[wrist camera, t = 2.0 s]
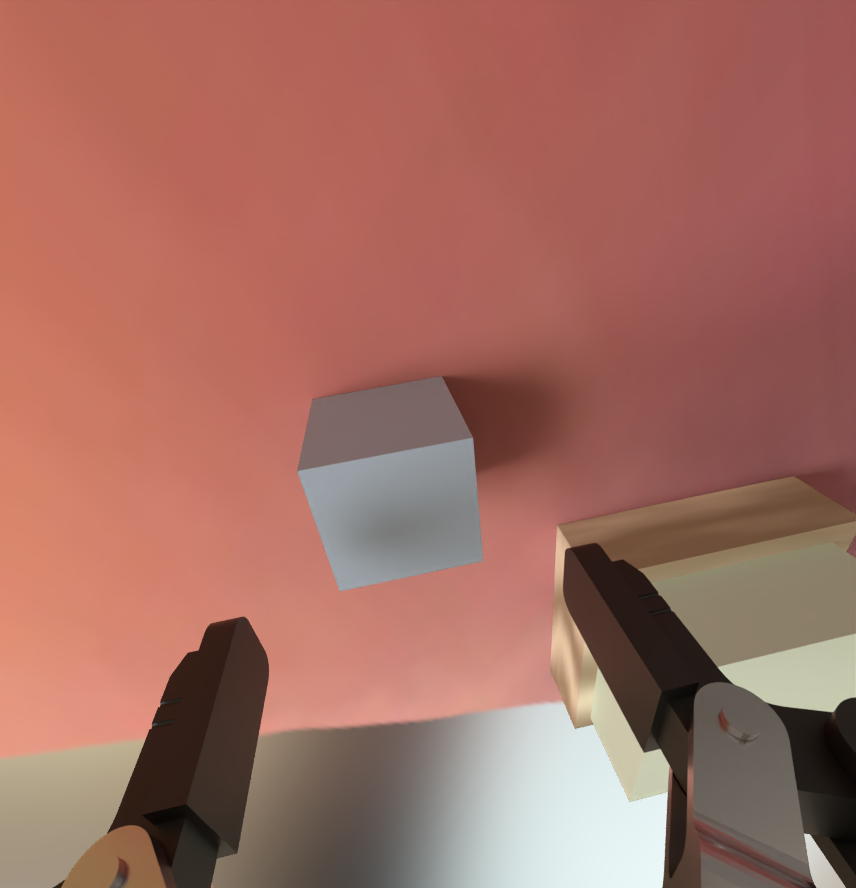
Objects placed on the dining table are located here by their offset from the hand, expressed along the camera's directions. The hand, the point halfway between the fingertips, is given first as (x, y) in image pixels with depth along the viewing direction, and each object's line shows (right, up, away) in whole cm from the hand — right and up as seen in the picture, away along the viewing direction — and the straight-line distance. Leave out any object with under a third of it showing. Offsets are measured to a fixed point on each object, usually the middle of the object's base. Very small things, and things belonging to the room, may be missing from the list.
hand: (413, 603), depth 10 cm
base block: (+14, -4, +15) cm, 21 cm away
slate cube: (-1, +4, +7) cm, 8 cm away
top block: (+15, -6, +11) cm, 20 cm away
